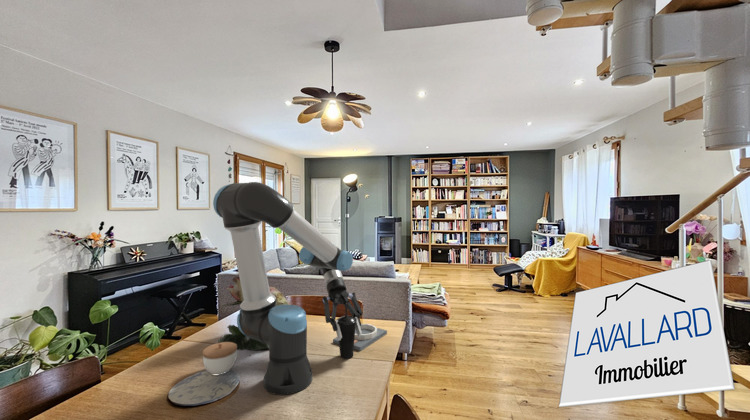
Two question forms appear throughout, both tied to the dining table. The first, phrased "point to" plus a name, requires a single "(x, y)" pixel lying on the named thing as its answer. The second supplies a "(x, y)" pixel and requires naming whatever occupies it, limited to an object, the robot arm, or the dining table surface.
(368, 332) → the ring board
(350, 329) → the drinking cup
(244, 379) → the dining table surface
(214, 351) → the lidded jar
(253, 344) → the rose bouquet
